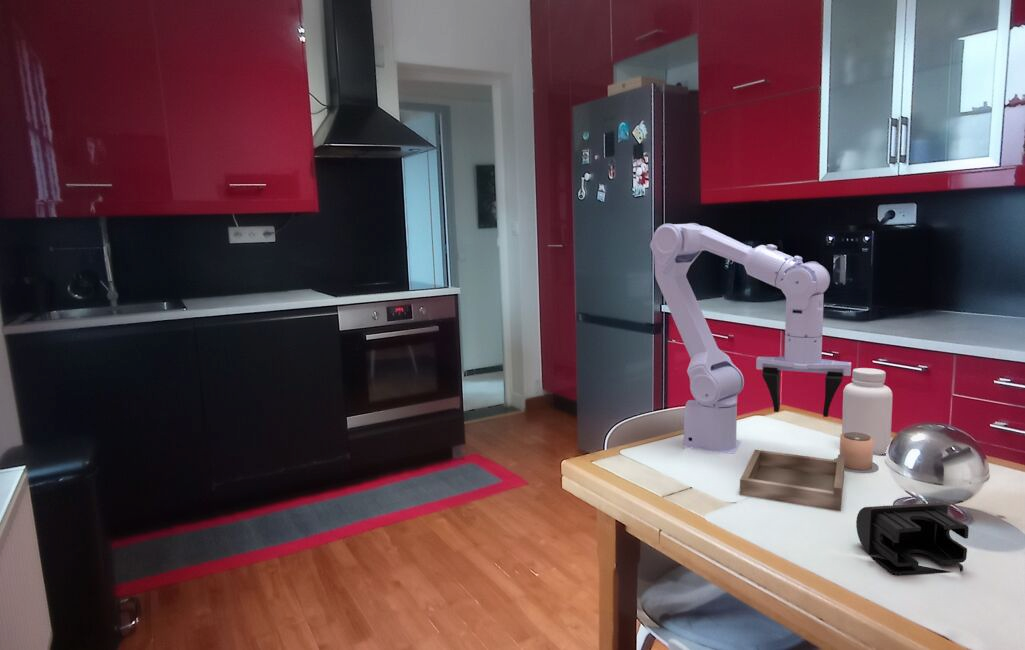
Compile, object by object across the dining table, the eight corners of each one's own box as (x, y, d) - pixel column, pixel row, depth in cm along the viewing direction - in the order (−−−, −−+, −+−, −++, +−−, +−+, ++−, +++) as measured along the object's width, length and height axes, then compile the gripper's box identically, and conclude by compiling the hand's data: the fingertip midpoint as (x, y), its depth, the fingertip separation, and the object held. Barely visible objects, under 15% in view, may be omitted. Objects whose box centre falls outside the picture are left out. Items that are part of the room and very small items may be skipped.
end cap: (927, 543, 83) (930, 494, 82) (969, 572, 76) (973, 519, 75) (853, 548, 82) (856, 499, 81) (889, 577, 75) (892, 523, 74)
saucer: (831, 472, 107) (831, 467, 107) (833, 459, 113) (833, 454, 113) (878, 478, 104) (878, 474, 104) (878, 464, 110) (878, 460, 110)
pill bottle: (877, 442, 121) (881, 365, 119) (898, 456, 114) (903, 375, 111) (834, 442, 122) (837, 366, 120) (852, 456, 114) (855, 375, 112)
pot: (836, 466, 108) (837, 437, 107) (842, 457, 112) (843, 429, 111) (869, 472, 105) (871, 442, 104) (874, 463, 109) (876, 434, 108)
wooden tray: (739, 497, 99) (740, 473, 98) (754, 465, 111) (755, 444, 111) (840, 514, 92) (841, 488, 91) (843, 478, 105) (844, 455, 104)
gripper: (754, 336, 106) (752, 414, 108) (851, 341, 99) (847, 424, 101) (760, 330, 113) (758, 404, 115) (852, 334, 106) (849, 412, 107)
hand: (800, 412), depth 108 cm, fingers open, 7 cm apart
